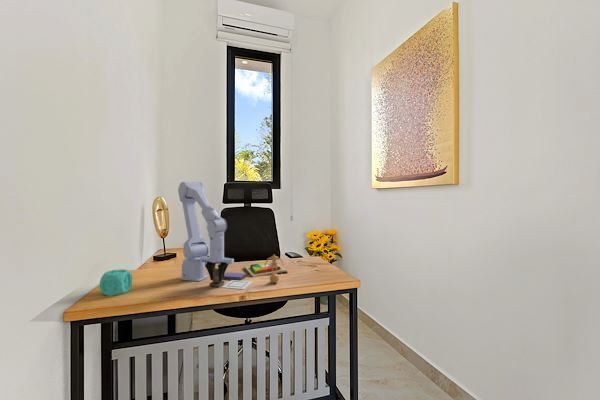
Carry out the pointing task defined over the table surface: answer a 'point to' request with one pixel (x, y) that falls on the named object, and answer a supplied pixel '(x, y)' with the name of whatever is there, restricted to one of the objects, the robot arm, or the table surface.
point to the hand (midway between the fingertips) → (216, 280)
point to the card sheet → (237, 284)
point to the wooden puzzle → (263, 269)
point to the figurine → (275, 277)
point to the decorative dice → (116, 282)
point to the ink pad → (234, 276)
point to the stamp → (216, 279)
